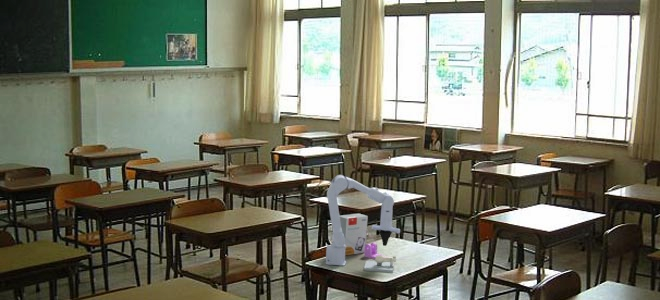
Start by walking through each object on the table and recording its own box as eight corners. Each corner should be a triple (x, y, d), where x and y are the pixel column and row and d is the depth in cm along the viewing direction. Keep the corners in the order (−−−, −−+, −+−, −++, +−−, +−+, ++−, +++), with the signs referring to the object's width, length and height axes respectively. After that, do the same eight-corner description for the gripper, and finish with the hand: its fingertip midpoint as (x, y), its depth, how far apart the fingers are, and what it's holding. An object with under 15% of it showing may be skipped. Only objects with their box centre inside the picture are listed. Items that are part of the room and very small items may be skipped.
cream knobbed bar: (375, 262, 397) (376, 257, 397) (375, 260, 401) (375, 255, 401) (396, 263, 398) (396, 257, 397) (395, 261, 402) (395, 255, 401)
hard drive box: (343, 256, 419) (345, 218, 416) (334, 253, 425) (335, 215, 422) (366, 252, 428) (367, 215, 426) (356, 249, 434) (358, 212, 432)
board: (363, 270, 394) (364, 259, 393) (366, 262, 408) (366, 252, 407) (392, 272, 392) (393, 261, 391) (394, 265, 406) (394, 254, 405)
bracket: (364, 256, 420) (364, 243, 420) (371, 254, 424) (371, 241, 424) (383, 261, 412) (384, 248, 411) (390, 260, 416) (391, 246, 415)
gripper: (369, 218, 403) (368, 244, 404) (397, 221, 397) (395, 249, 398) (375, 215, 409) (373, 242, 411) (402, 219, 403) (400, 246, 405)
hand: (384, 245), depth 405 cm, fingers closed
